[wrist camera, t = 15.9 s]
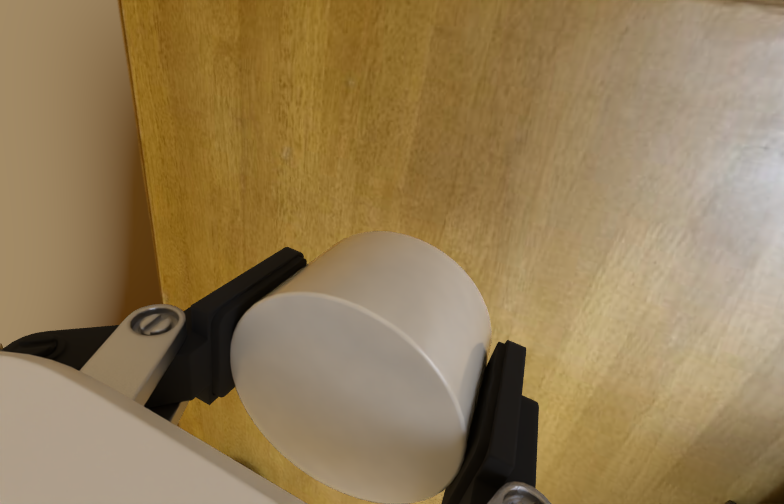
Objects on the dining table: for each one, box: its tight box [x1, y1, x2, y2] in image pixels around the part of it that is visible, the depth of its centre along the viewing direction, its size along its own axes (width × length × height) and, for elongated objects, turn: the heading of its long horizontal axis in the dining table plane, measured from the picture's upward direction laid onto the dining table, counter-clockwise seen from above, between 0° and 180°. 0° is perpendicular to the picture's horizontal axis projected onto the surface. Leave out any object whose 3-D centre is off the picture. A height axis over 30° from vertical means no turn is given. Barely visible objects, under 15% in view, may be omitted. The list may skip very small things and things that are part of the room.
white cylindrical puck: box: [230, 231, 492, 504], centre depth 11 cm, size 6×6×4 cm
